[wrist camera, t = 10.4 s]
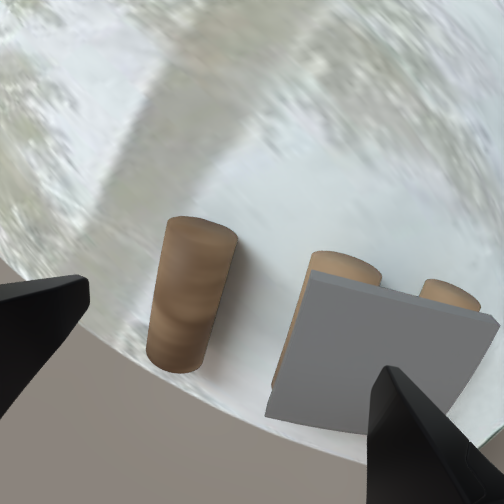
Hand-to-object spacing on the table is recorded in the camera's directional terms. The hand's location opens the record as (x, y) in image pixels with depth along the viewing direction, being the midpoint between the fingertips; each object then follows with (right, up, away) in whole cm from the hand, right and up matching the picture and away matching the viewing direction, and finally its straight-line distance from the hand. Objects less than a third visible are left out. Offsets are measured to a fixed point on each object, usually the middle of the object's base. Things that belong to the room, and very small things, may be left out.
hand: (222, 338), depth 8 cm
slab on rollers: (+9, -3, +11) cm, 14 cm away
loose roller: (-3, -1, +10) cm, 11 cm away
